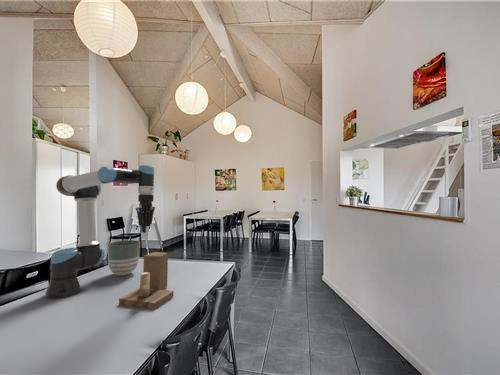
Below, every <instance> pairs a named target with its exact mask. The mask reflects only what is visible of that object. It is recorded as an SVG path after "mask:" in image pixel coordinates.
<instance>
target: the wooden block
mask: <svg viewBox="0 0 500 375" xmlns="http://www.w3.org/2000/svg"><path fill="white" fill-rule="evenodd" d="M168 256H169V253H168V252H160V251H159V252H158V251H153V252H150V253H148V254H145V255H143V272H142V273H146V272H148V273H150V288H152V289H161V290H165V289H166V288H167V287H168V271H169V270H168V268H169V266H168V259H169V257H168Z"/></svg>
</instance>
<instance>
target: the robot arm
mask: <svg viewBox="0 0 500 375" xmlns="http://www.w3.org/2000/svg"><path fill="white" fill-rule="evenodd" d="M154 180H155V168H154V166H153V165H147V164H146V165H145V164H141V165H139V167H138V169H127V168H120V167H113V166H101V167H100V168H99V169H98V170H94V171H90V172H85V173H81V174H78V175H69V174H68V175H65V176H62V177H60V178H59V179H58V180H57V181H56V184H55V188H56V190H57V192H59V193H60V194H61V195H63V196H66V197H74V199H73V200H74V202H77V216H78V218H77V220H78V221H77V222H78V236H79V237H78V238H79V239H78V240H79V243H78V244H77V245H76V247H68V248H63V249H58V250H57V251H54V252H53V253H52V254H51V258H50V281H49V283H48V286H47V288H46V291H45V298H47V299H61V298H62V299H63V298H68V297H70V296H74V295H76V294H78V293H80V292H81V285H80V282H79V279H78V271H81V270H85V269H88V268H94V267H96V266H98V265H100V264H102V262H103V261H104V260H105V256H106V255H105V252H106V251H105V249H104V247H103V246H102V245H100V243H101V242H99V241H98V240H97V227H96V226H97V224H96V211H95V210H96V207H95V201H97V199H98V197H99V195H100V194H101V192H102V186H101V185H106V184H112V183H120V184H128V185H132V184H133V185H134V184H138V190H137V191H138V192H137V193H138V196H137V197H138V198H137V199H138V200H137V201H138V202H139V205H138V207H135V211H136V215H137V222H138V226H140V227H141V238H142V239H141V240H148V239H149V232H150V227H151V226H152V224H153V218H154V212H155V209H156V207H155V206H153V202H154V192H155V191H154V186H155V185H154V184H155V182H154Z"/></svg>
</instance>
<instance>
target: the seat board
mask: <svg viewBox="0 0 500 375" xmlns="http://www.w3.org/2000/svg"><path fill="white" fill-rule="evenodd" d="M149 294H150V296H149V297H148V298H146V299H144V298H140V287H139V288H137V289H135V290H133V291H131V292H129V293H127V294H125V295H123V296H121V297H119V298H118V305H120V306H125V305H126V306H127V307H132V306H134V307H133V308H139V307H141V309H146V310H147V309H148V310H156V309H158V308H159V307H160V306H162V305H163V304H165V303H166V302H168V301H169V300H171V299H172V298H174V290H168V289H163V290H161V289H152V288H150V291H149ZM167 300H168V301H167ZM164 302H165V303H164ZM161 304H162V305H161ZM126 306H125V307H126Z"/></svg>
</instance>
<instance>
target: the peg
mask: <svg viewBox="0 0 500 375" xmlns="http://www.w3.org/2000/svg"><path fill="white" fill-rule="evenodd" d="M139 276H140V277H139V288H140V298H144V299H146V298H148V297H149V296H150V294H149V291H150V273H148V272H146V273H143V272H141V273H140V275H139Z"/></svg>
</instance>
